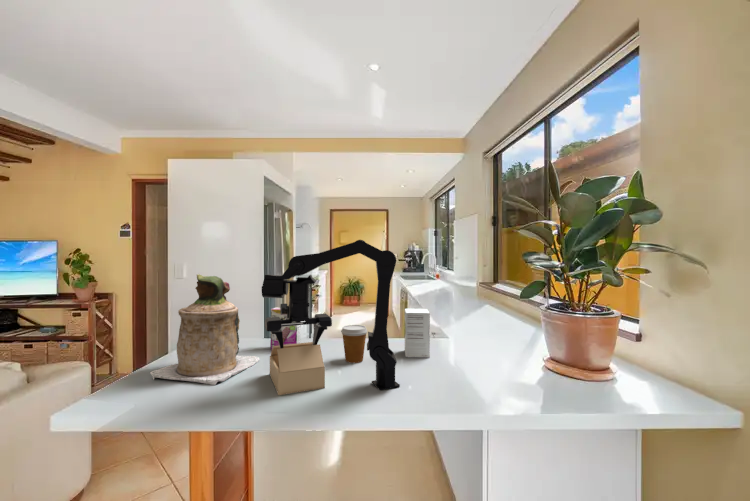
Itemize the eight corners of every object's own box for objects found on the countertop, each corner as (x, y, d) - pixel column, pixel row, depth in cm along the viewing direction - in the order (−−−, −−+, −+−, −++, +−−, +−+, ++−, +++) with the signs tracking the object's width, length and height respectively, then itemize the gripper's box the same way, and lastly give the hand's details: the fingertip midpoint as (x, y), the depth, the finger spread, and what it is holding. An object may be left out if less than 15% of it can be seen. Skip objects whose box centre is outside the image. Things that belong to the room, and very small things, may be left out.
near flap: (323, 367, 101) (324, 366, 101) (279, 373, 96) (279, 372, 96) (319, 345, 106) (319, 344, 105) (277, 349, 101) (277, 348, 100)
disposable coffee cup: (366, 364, 123) (366, 330, 123) (339, 364, 123) (339, 330, 123) (367, 356, 132) (368, 324, 132) (342, 356, 132) (342, 324, 132)
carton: (324, 388, 101) (324, 367, 101) (278, 395, 96) (278, 373, 96) (309, 369, 118) (309, 351, 118) (269, 374, 113) (269, 355, 113)
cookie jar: (218, 386, 103) (218, 276, 103) (146, 380, 108) (147, 275, 108) (261, 361, 127) (262, 272, 127) (201, 357, 132) (202, 271, 132)
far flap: (270, 355, 113) (270, 354, 113) (309, 351, 118) (308, 349, 118) (273, 347, 108) (273, 345, 108) (313, 343, 113) (313, 341, 113)
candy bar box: (269, 350, 141) (269, 309, 141) (274, 346, 146) (274, 307, 146) (296, 350, 140) (297, 309, 140) (300, 347, 145) (300, 307, 145)
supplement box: (404, 350, 141) (404, 308, 141) (427, 350, 140) (427, 308, 141) (405, 357, 131) (405, 312, 131) (430, 357, 131) (430, 312, 131)
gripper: (323, 292, 114) (322, 340, 115) (263, 295, 107) (262, 345, 108) (332, 298, 104) (331, 350, 105) (267, 302, 97) (266, 357, 97)
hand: (298, 350), depth 104 cm, fingers open, 9 cm apart
